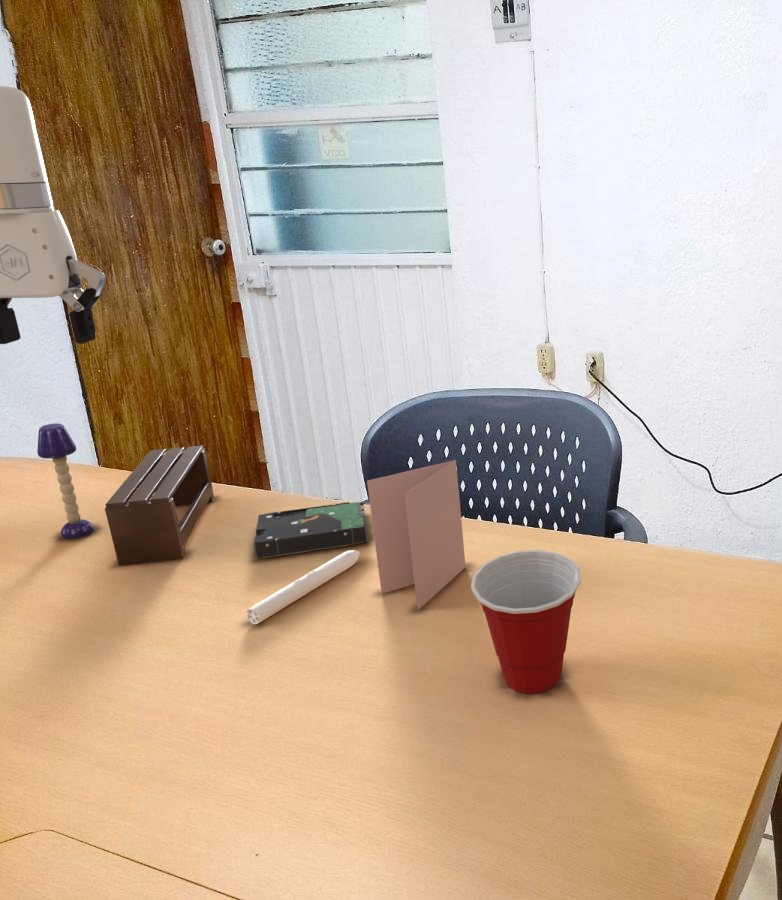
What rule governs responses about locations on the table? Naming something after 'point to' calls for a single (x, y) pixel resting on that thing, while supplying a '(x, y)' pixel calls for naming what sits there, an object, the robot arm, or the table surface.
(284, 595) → the marker
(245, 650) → the table surface
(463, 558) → the greeting card
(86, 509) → the table surface
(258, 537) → the disk drive
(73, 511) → the toy lamp
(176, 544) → the bench
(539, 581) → the plastic cup
